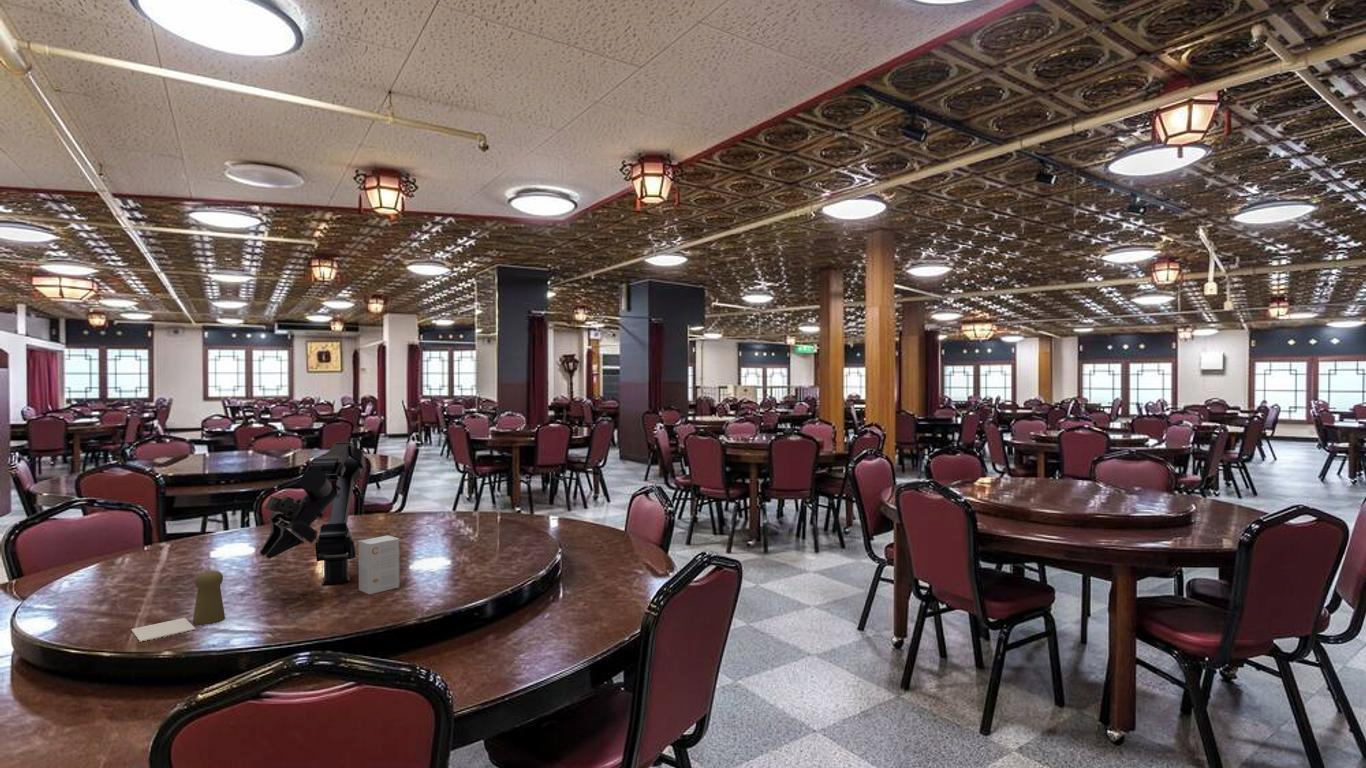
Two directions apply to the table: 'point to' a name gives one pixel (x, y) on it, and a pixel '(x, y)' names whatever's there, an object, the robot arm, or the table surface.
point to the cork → (208, 598)
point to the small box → (378, 564)
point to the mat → (162, 629)
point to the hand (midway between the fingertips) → (264, 555)
